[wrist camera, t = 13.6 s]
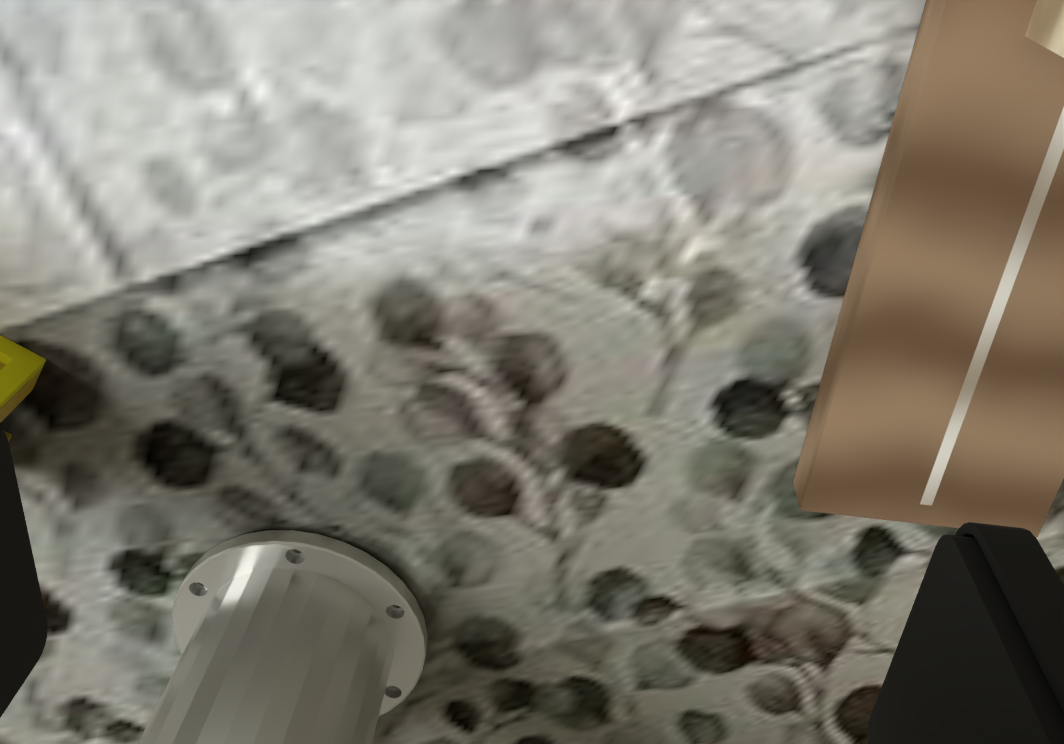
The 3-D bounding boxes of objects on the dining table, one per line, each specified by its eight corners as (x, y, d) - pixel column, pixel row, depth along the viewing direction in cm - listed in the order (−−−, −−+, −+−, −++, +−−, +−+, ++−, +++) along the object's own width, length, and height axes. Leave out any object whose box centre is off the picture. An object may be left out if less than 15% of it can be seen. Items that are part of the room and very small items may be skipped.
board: (1020, 507, 43) (1037, 537, 42) (793, 482, 43) (800, 510, 42) (1339, -240, 29) (1385, -243, 28) (1002, -275, 29) (1027, -280, 28)
